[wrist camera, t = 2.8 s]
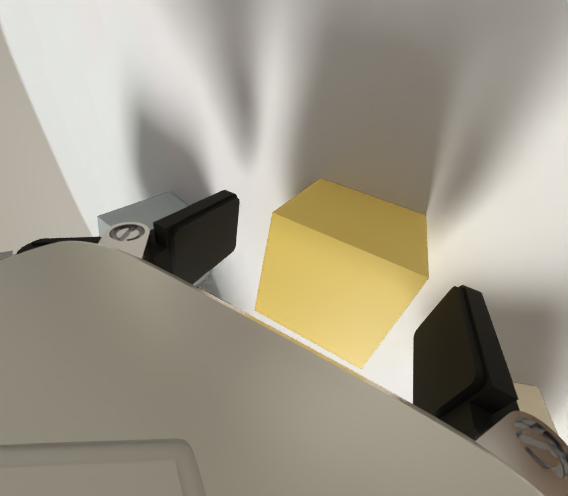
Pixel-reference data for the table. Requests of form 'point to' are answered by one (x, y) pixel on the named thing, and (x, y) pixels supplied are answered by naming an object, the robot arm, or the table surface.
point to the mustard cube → (342, 268)
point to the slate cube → (144, 214)
